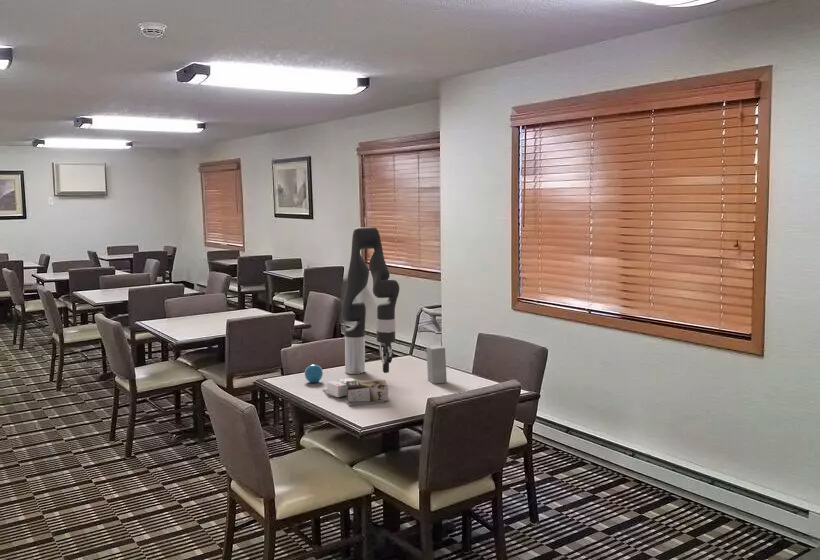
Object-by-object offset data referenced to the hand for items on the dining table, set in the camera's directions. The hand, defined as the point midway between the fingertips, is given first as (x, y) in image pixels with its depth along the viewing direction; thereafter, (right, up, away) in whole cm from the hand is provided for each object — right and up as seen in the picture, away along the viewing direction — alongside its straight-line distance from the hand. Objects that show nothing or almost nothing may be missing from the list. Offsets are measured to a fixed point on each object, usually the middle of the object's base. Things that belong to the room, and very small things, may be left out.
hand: (385, 372), depth 276 cm
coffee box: (+1, -7, +1) cm, 7 cm away
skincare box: (+21, -8, +29) cm, 37 cm away
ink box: (-13, -7, +12) cm, 19 cm away
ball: (-33, -8, +27) cm, 43 cm away
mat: (-14, -11, +4) cm, 18 cm away
